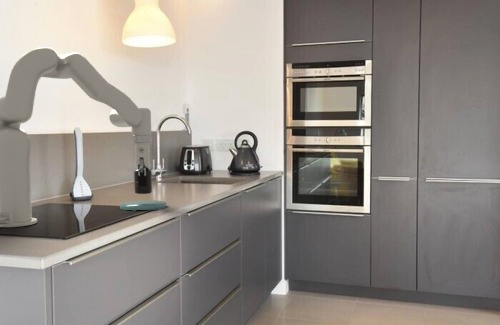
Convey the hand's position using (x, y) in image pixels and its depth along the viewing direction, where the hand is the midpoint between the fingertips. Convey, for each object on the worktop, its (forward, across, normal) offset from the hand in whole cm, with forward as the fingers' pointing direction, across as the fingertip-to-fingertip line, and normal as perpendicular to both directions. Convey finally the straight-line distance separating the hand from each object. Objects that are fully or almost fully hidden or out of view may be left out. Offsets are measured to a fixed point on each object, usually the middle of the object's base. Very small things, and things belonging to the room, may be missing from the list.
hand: (143, 184), depth 198 cm
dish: (+9, 0, 0) cm, 9 cm away
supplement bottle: (+3, 0, 0) cm, 3 cm away
